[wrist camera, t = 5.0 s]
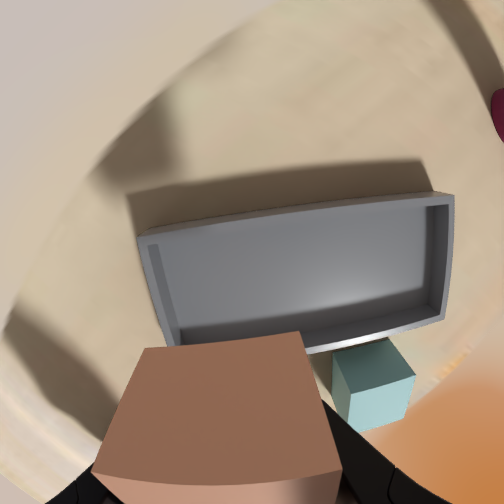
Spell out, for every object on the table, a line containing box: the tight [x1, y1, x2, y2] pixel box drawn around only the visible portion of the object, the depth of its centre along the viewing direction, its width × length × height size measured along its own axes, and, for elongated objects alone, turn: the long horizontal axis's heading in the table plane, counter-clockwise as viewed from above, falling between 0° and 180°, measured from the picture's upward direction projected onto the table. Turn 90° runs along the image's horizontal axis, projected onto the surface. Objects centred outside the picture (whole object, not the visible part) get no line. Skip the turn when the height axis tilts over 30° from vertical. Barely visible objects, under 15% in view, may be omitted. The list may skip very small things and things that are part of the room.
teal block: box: [331, 339, 416, 433], centre depth 17 cm, size 4×4×4 cm
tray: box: [136, 191, 454, 354], centre depth 16 cm, size 18×8×2 cm, turn 98°
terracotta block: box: [91, 331, 343, 504], centre depth 6 cm, size 4×4×4 cm
